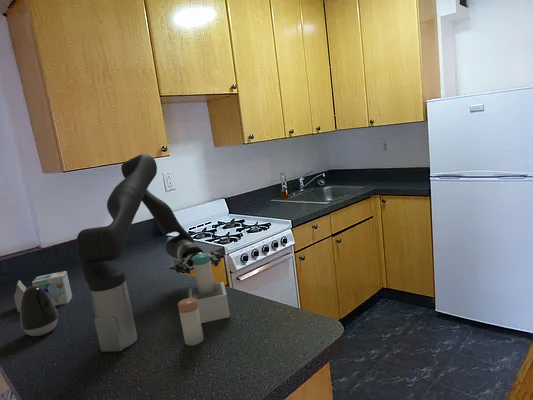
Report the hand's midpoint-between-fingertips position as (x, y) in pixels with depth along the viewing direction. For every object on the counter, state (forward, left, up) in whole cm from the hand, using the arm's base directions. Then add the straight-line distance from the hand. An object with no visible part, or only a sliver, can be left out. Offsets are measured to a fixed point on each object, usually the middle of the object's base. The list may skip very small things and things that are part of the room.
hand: (202, 266), depth 117 cm
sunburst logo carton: (+12, +78, -15) cm, 80 cm away
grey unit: (0, 0, -15) cm, 15 cm away
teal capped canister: (0, 0, -8) cm, 8 cm away
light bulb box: (+14, +66, -15) cm, 70 cm away
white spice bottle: (-16, -1, -15) cm, 22 cm away
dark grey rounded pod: (-8, +53, -15) cm, 56 cm away
